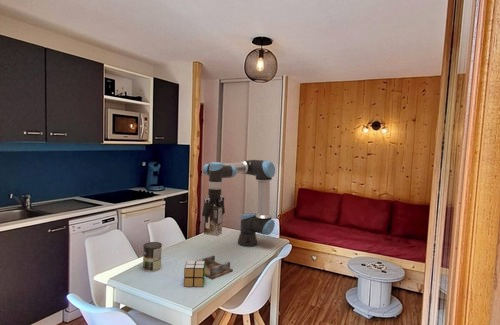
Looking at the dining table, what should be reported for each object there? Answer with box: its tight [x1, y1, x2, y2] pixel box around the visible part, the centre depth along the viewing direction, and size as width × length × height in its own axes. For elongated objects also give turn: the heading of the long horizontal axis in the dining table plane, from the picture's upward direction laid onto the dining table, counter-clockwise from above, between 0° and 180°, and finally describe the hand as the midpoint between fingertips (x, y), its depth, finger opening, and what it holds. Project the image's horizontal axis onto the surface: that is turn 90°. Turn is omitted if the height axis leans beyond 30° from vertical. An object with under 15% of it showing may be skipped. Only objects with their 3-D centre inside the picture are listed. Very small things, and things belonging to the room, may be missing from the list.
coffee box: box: [203, 205, 224, 237], centre depth 173 cm, size 9×6×16 cm
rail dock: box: [196, 255, 234, 281], centre depth 172 cm, size 16×18×5 cm
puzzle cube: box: [183, 260, 206, 288], centre depth 156 cm, size 10×10×10 cm
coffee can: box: [142, 241, 163, 273], centre depth 171 cm, size 10×10×14 cm
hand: (213, 226), depth 173 cm, fingers closed on coffee box, 8 cm apart
